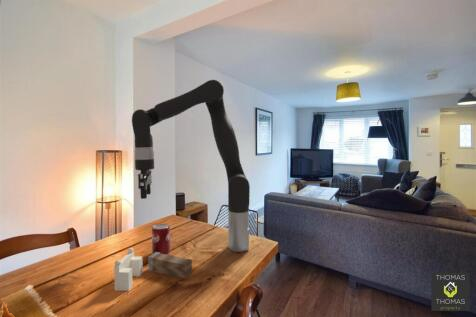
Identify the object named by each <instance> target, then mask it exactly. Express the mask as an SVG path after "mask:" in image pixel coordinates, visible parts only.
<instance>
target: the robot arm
mask: <svg viewBox="0 0 476 317" xmlns="http://www.w3.org/2000/svg"><path fill="white" fill-rule="evenodd" d="M224 91H225V89H224V86H223V84H222V82H221V81H219V80H217V79H210V80H207V81H205V82H204V83H202V84H201V85H199V86H197V87H196V88H194V89H191V90H190V91H188V92H185V93H182V94H180V95H178V96H176V97H172V98H170V99H167V100H164V101H162V102H159V103H157V104H156V105H154V107H152V108H150V109H147V110H144V109H136V110H135V111H134V112H133V113H132V115H131V126H132V130H133V134H134V169H135V170H136V171H139V172H140V173H138V174H137V176H138V178H137V180H138V181H137V182H138V187H137V188H138V189H139V190H140V192H139V193H140V199H142V200H143V199H144V200H146V199H147V197H148V196H147V195H151V193H152V191H151V186H152V183H153V181H152V170H154V169H155V154H154V153H155V152H154V142H153V140H154V139H153V135H152V134H151V127H153V126H155V125H158V124H159V123H161V122H163V121H164V120H165V121H166V120H168V119H170V118H174V117H176V116H178V115H180V114H182V113H184V112H185V111H187V110H189V109H191V108H193V107H195V106H197V105H201V104H204V103H205V105H206V108H207V111H208V113H209V117H210V120H211V122H210V123H211V127H212V132H213V137H214V141H215V145H216V147H217V150H218V153H219V156H220V158H221V160H222V163H223V165H224V167H225V171H226V176H227V187H228V188H227V191H228V195H227V197H228V198H227V199H228V200H227V203H228V204H227V205H228V206H227V207H228V208H227V210H228V213H227V215H228V217H227V221H228V222H227V224H228V225H227V229H228V232H227V234H228V235H227V238H228V240H227V243H228V244H227V246H228V247H227V248H228V250H229V251H231V252H235V253H241V252H242V253H243V252H246V251H250V224H249V223H250V222H249V221H250V220H249V218H250V217H249V216H250V213H249V212H250V210H249V209H250V187H251V186H250V182H249V179H248V178H247V177H246V174H245V172H244V169H243V166H242V163H241V160H240V159H241V158H240V151H239V144H238V140H237V136H236V134H235V133H236V132H235V129H234V127H233V125H232V122H231V120H230V118H229V117H228V114H227V111H226V108H225V102H224Z"/></svg>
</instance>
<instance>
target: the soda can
mask: <svg viewBox="0 0 476 317" xmlns="http://www.w3.org/2000/svg"><path fill="white" fill-rule="evenodd" d="M151 247H152V248H151V252H152V253H151V255H152V254H153V253H155V252H159V253H161V254H166V255H169V254H170V253H171V227H170V225H169V224H167V223H158V224H155V225H153V226H152V228H151Z"/></svg>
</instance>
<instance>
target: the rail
mask: <svg viewBox="0 0 476 317" xmlns="http://www.w3.org/2000/svg"><path fill="white" fill-rule="evenodd" d="M192 264H193V261H192V259H190V258H184V257H181V256H175V255H171V254H170V255H169V254H168V255H166V254H161V253H159V252H155V253H153V254H152V253H151V254H150V255H149V256H147V267H148V271H150V272H153V273H159V274H163V275H167V276H171V277H176V278H180V279H183V280H186V279H188V278H189V277H190V276H191V274H193V265H192Z"/></svg>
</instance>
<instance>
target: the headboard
mask: <svg viewBox="0 0 476 317" xmlns="http://www.w3.org/2000/svg"><path fill="white" fill-rule="evenodd" d="M143 260H144V259H143V256H135V251H134V248H133V247H129V248H128V250H127V253H126V254H125V255H124V256H123V257H122V258H121V259H117V260H115V262H114V266H113V267H114V268H113V269H114V270H113V272H114V273H113V275H114V277H113V278H114V291H115V292H116V291H117V292H118V291H120V292H122V291H128V292H130V290H131V289H132V288H133V283H134V282H133V277H141V275H142V274H143V272H144V269H143V268H144V264H143Z"/></svg>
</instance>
